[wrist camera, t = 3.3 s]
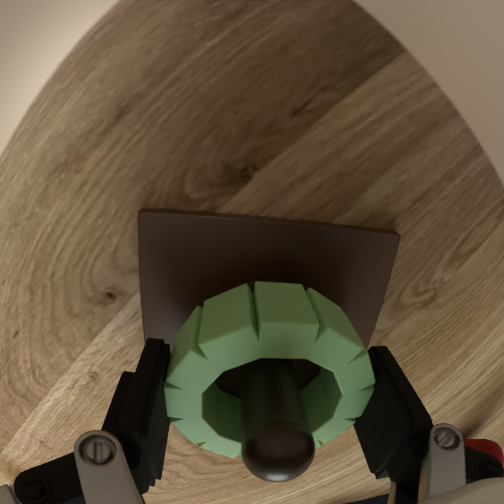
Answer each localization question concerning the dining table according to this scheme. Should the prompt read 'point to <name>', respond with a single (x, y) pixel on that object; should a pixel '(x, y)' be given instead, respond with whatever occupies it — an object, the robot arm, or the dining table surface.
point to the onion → (486, 447)
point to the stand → (247, 272)
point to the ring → (265, 346)
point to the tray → (374, 500)
